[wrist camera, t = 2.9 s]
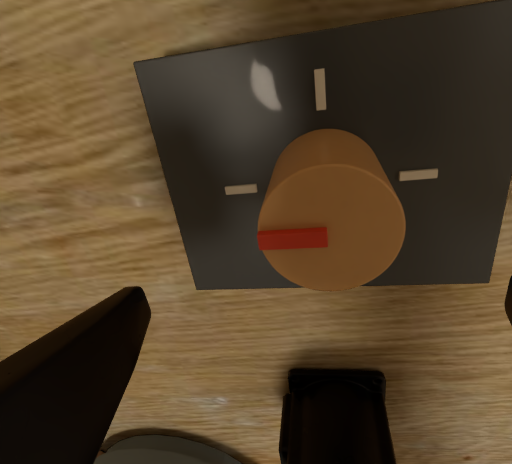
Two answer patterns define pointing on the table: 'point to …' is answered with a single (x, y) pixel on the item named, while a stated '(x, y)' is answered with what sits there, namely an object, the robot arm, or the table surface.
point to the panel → (347, 119)
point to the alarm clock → (162, 452)
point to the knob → (330, 213)
